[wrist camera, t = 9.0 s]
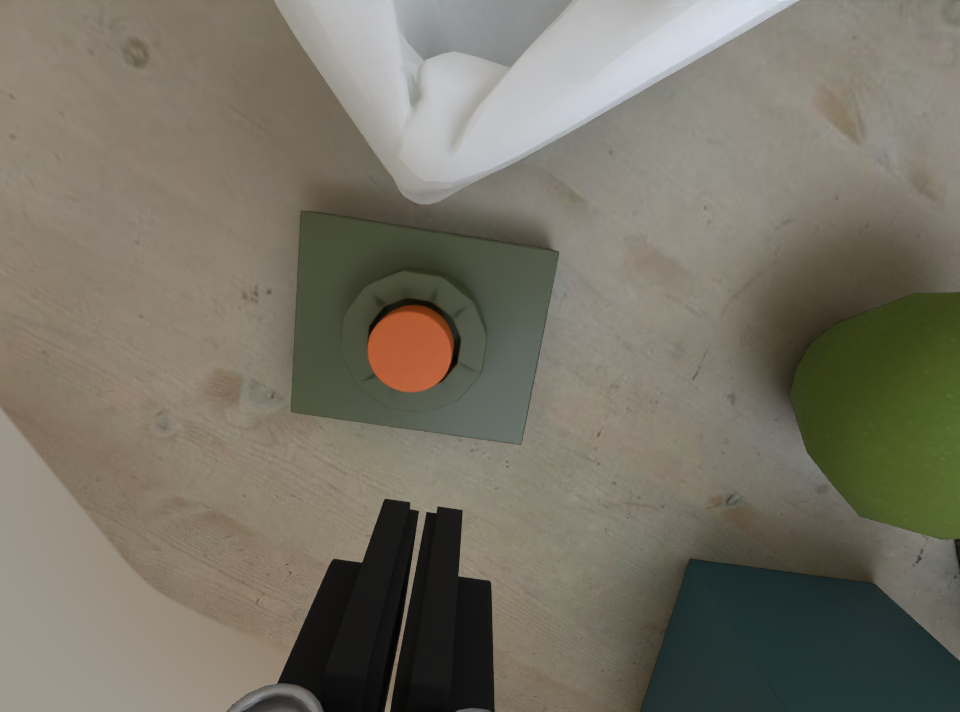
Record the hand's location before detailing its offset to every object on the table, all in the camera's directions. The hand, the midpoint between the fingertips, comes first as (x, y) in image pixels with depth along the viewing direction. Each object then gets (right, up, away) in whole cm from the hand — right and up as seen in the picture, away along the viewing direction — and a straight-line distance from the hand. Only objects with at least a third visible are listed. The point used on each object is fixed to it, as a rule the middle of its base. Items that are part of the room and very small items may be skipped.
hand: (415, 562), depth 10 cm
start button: (-2, +5, +12) cm, 13 cm away
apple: (+21, +4, +16) cm, 27 cm away
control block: (-2, +6, +15) cm, 16 cm away
